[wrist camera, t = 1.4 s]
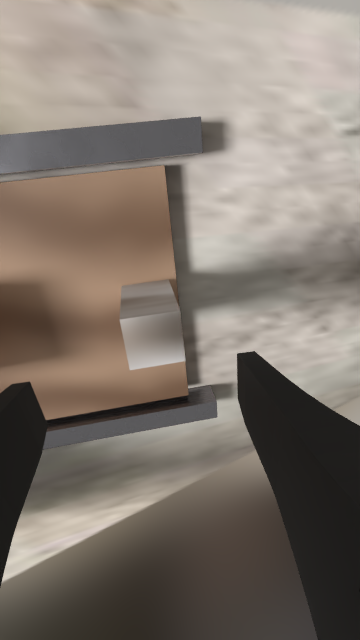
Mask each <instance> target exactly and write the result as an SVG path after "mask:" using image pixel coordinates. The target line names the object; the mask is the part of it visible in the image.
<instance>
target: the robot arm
mask: <svg viewBox="0 0 360 640" xmlns="http://www.w3.org/2000/svg"><path fill="white" fill-rule="evenodd" d="M237 377H238V401H239V404H240V408H241V412H242V415H243V418H244V422H245V425H246V427H247V430H248V432H249V434H250V437H251V439H252V441H253V444H254V446H255V449H256V451H257V453H258V455H259V458H260V460H261V463H262V465H263V467H264V469H265V472H266V474H267V477H268V479H269V481H270V484H271V486H272V489H273V491H274V494H275V497H276V500H277V503H278V506H279V509H280V512H281V516H282V518H283V522H284V525H285V528H286V531H287V534H288V538H289V541H290V544H291V548H292V551H293V554H294V557H295V561H296V564H297V567H298V571H299V574H300V578H301V581H302V584H303V588H304V592H305V595H306V598H307V602H308V605H309V609H310V612H311V616H312V620H313V623H314V627H315V631H316V634H317V637H318V640H360V426H359V425H357V424H355V423H354V422H352V421H350V420H348V419H347V418H345V417H343V416H342V415H340V414H338V413H336V412H335V411H333V410H331V409H330V408H328V407H327V406H325V405H324V404H322V403H321V402H319V401H318V400H316V399H315V398H313V397H312V396H310V395H309V394H307V393H306V392H305V391H303V390H302V389H300V388H299V387H298V386H296V385H295V384H294V383H293V382H291V381H290V380H289V379H287V378H286V377H285V376H284V375H282V374H281V373H280V372H279V371H277V370H276V369H275V368H274V367H273V366H271V365H270V364H269V363H268V362H267V361H265V360H264V359H263V358H262V357H261V356H259V355H258V354H257V353H256V352H255V351H253V352H246V353H238V354H237ZM47 426H48V424H47V421H46V419H45V417H44V414H43V412H42V409H41V407H40V405H39V402H38V400H37V397H36V395H35V393H34V390H33V388H32V385H31V383H30V382H23V383H15V384H11V385H10V386H9V387H7V388H6V389H5V390H3V391H2V392H1V393H0V586H1V582H2V577H3V573H4V569H5V565H6V561H7V557H8V553H9V550H10V546H11V542H12V538H13V535H14V531H15V528H16V525H17V522H18V519H19V516H20V513H21V511H22V508H23V505H24V502H25V499H26V497H27V494H28V491H29V488H30V486H31V483H32V480H33V477H34V474H35V472H36V469H37V466H38V463H39V460H40V457H41V454H42V450H43V446H44V441H45V437H46V431H47Z"/></svg>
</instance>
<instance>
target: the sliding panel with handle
mask: <svg viewBox="0 0 360 640" xmlns="http://www.w3.org/2000/svg"><path fill="white" fill-rule="evenodd" d="M185 361H186V360H185V350H184V341H183V331H182V322H181V312H180V308H179V299H178V290H177V280H176V271H175V261H174V252H173V242H172V233H171V223H170V214H169V204H168V195H167V185H166V176H165V166H164V165H162V166H153V167H144V168H134V169H125V170H115V171H106V172H96V173H87V174H77V175H68V176H59V177H49V178H40V179H30V180H21V181H11V182H2V183H0V393H1V392H2V391H3V390H5V389H6V388H7V387H9V386H10V385H11V384H15V383H23V382H30V383H31V385H32V388H33V390H34V393H35V395H36V397H37V400H38V402H39V405H40V407H41V409H42V412H43V414H44V417H45V419H46V420H50V419H56V418H61V417H67V416H73V415H78V414H84V413H90V412H95V411H101V410H107V409H112V408H118V407H124V406H129V405H135V404H141V403H146V402H152V401H158V400H163V399H169V398H175V397H180V396H186V395H189V394H188V385H187V375H186V366H185Z"/></svg>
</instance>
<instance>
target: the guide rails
mask: <svg viewBox="0 0 360 640" xmlns="http://www.w3.org/2000/svg"><path fill="white" fill-rule="evenodd" d="M199 153H203V148H202V130H201V117H191V118H180V119H170V120H159V121H148V122H137V123H126V124H115V125H104V126H94V127H83V128H72V129H61V130H50V131H39V132H29V133H18V134H7V135H0V175H1V174H11V173H21V172H30V171H40V170H50V169H59V168H69V167H79V166H88V165H98V164H108V163H117V162H127V161H137V160H146V159H156V158H166V157H175V156H185V155H195V154H199ZM188 394H189V395H186V396H180V397H175V398H169V399H163V400H158V401H152V402H146V403H141V404H135V405H129V406H124V407H118V408H112V409H107V410H101V411H95V412H90V413H84V414H78V415H73V416H67V417H61V418H56V419H50V420H46V421H47V424H48V426H47V431H46V437H45V441H44V446H43V449H48V448H53V447H59V446H64V445H70V444H75V443H80V442H86V441H91V440H97V439H102V438H108V437H113V436H118V435H124V434H129V433H135V432H140V431H145V430H151V429H156V428H162V427H167V426H173V425H178V424H183V423H189V422H194V421H200V420H205V419H211V418H216V417H217V401H216V399H215V396H214V393H213V391H212V388H211V386H210V385H209V386H204V387H198V388H192V389H188Z"/></svg>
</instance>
